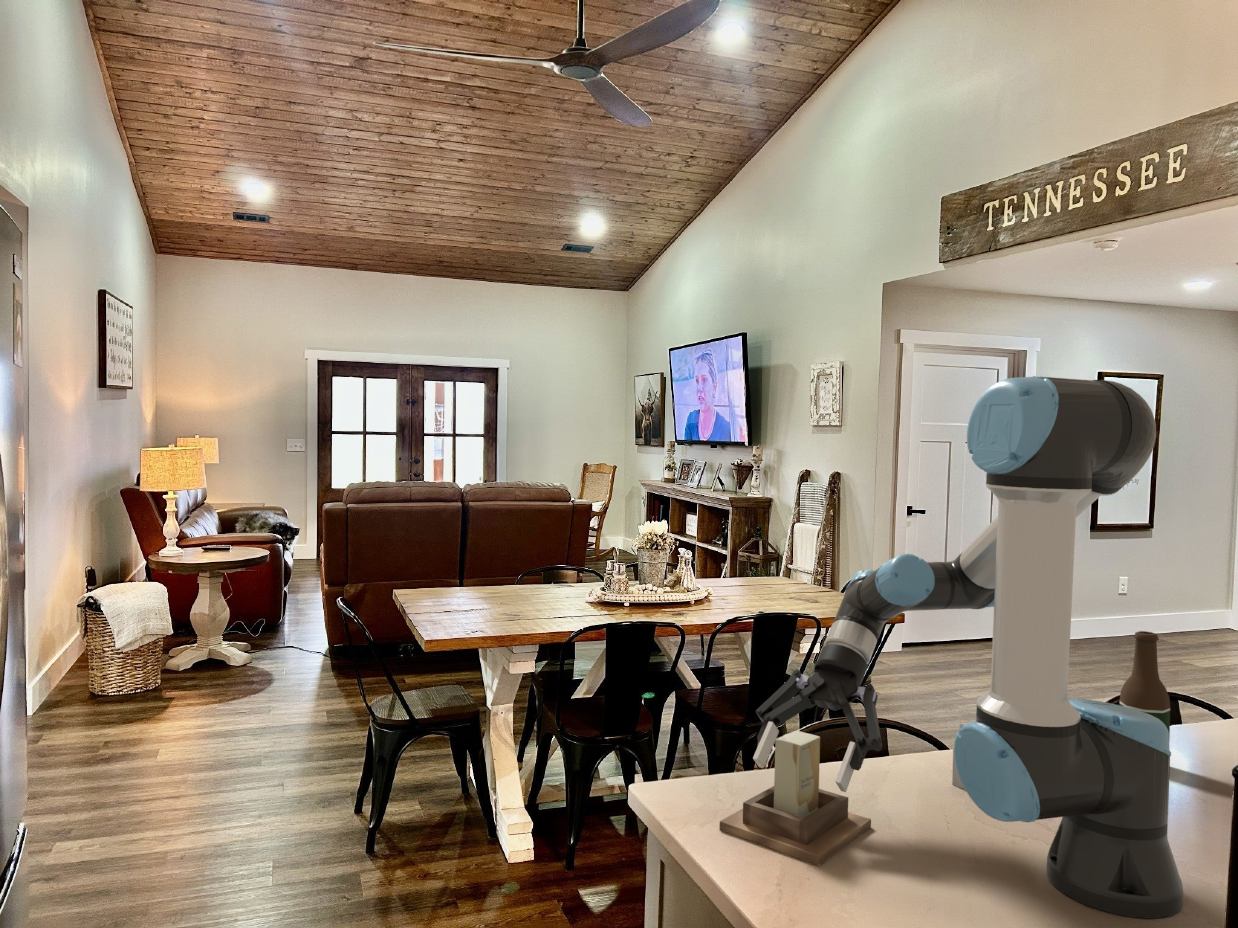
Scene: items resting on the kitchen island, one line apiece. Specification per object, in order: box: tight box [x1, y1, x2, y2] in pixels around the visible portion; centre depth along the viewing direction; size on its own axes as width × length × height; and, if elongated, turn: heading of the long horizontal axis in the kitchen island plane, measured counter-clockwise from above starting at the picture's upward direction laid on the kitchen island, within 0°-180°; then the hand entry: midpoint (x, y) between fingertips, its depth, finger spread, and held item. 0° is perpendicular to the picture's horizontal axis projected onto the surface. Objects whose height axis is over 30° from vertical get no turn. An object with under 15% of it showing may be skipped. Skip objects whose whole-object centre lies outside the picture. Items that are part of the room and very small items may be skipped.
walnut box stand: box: [719, 785, 872, 866], centre depth 126 cm, size 16×16×4 cm
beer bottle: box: [1119, 630, 1171, 740], centre depth 154 cm, size 8×8×24 cm
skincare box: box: [773, 730, 821, 818], centre depth 126 cm, size 6×4×12 cm
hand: (797, 774), depth 126 cm, fingers open, 13 cm apart
